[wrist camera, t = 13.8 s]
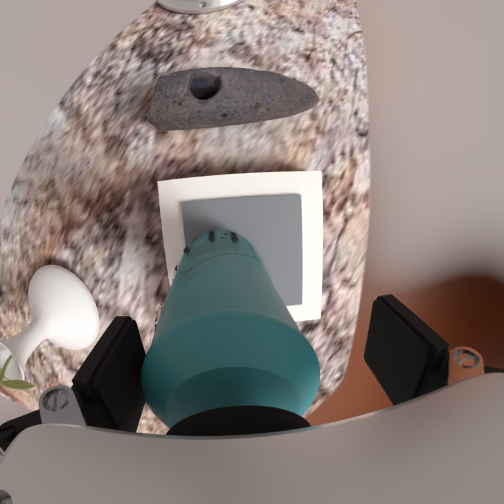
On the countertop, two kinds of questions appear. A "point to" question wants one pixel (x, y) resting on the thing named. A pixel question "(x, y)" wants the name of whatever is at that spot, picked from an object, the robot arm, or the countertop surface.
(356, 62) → the countertop surface
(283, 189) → the white picture frame
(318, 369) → the beverage bottle
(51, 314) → the flower in vase
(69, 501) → the robot arm
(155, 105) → the perforated stone tool
